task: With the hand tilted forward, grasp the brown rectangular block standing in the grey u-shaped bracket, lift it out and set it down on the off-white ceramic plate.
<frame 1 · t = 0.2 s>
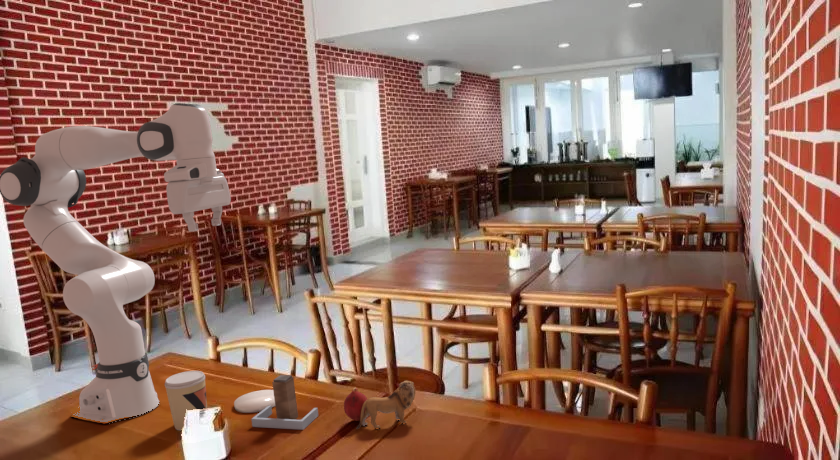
hand: (205, 228, 153), 47 cm above the table, tool pointing down, fingers open, 8 cm apart
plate: (258, 403, 165), on the table
coffee cup: (191, 424, 155), on the table
onion: (358, 421, 148), on the table
brown rectangular block: (285, 398, 152), in the grey u-shaped bracket
lion figurine: (389, 423, 145), on the table
grey u-shaped bracket: (287, 419, 152), on the table
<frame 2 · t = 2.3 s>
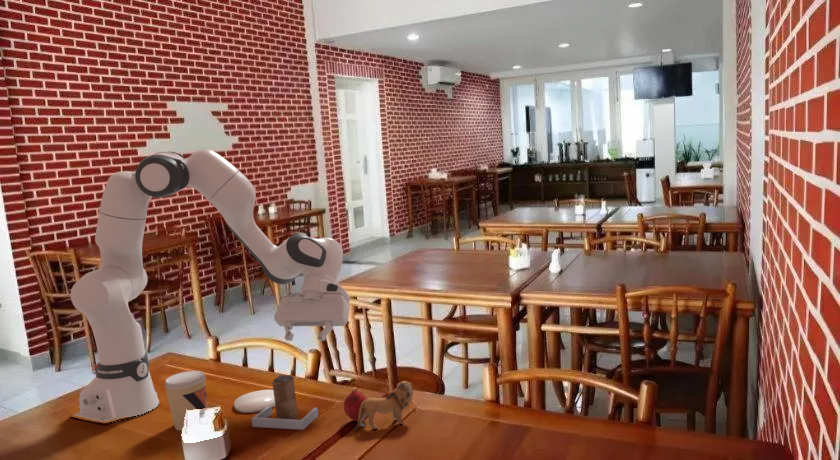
hand: (304, 339, 162), 16 cm above the table, tool tilted 45°, fingers open, 8 cm apart
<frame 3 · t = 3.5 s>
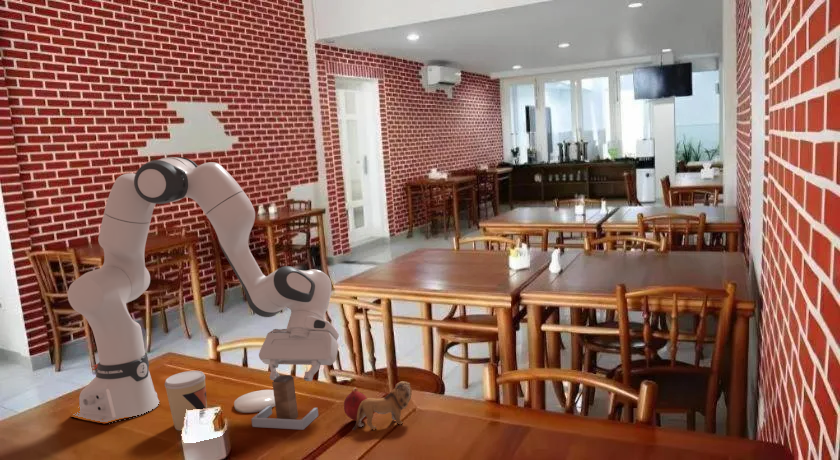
hand: (290, 379, 154), 9 cm above the table, tool tilted 45°, fingers open, 8 cm apart
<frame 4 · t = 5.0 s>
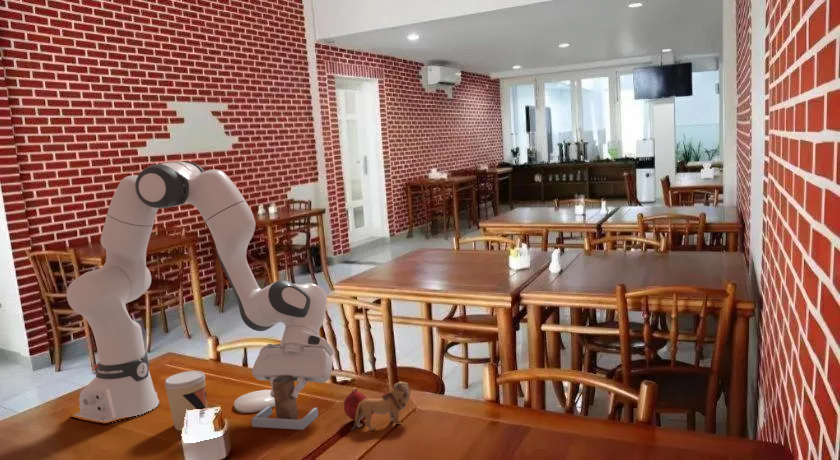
hand: (283, 397, 151), 6 cm above the table, tool tilted 45°, fingers closed on brown rectangular block, 4 cm apart
brown rectangular block: (285, 398, 152), in the grey u-shaped bracket, touching gripper
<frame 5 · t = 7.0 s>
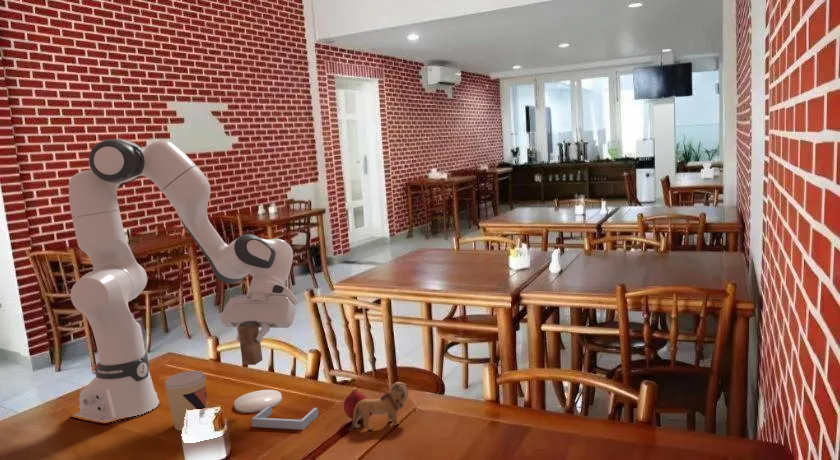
hand: (248, 341, 162), 17 cm above the table, tool tilted 45°, fingers closed on brown rectangular block, 4 cm apart
brown rectangular block: (250, 342, 162), point 16 cm above the table, touching gripper
when the fingers open (8 cm above the table, at t = 9.1 s): brown rectangular block stays where it is, resting on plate.
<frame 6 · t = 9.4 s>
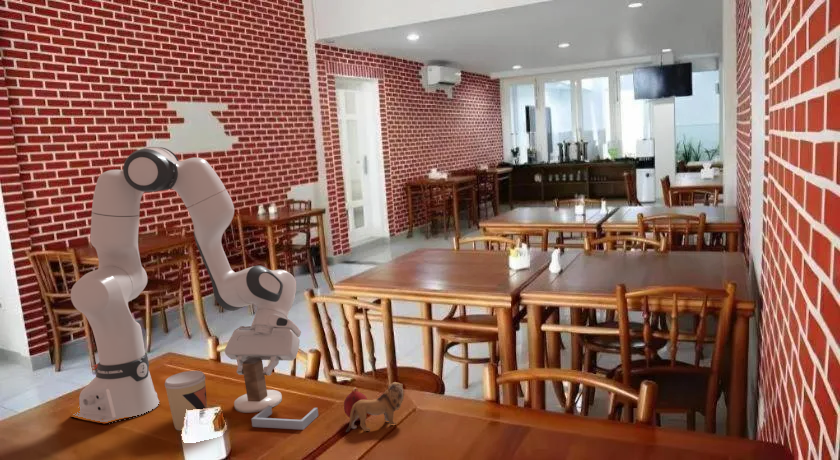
hand: (253, 374, 163), 8 cm above the table, tool tilted 45°, fingers open, 6 cm apart
brown rectangular block: (254, 379, 164), on the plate, point 6 cm above the table
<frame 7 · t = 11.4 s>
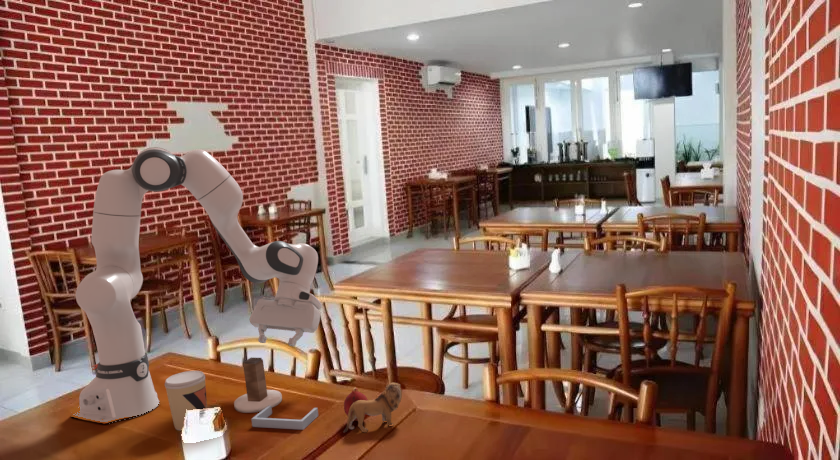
hand: (276, 343, 173), 12 cm above the table, tool tilted 40°, fingers open, 8 cm apart
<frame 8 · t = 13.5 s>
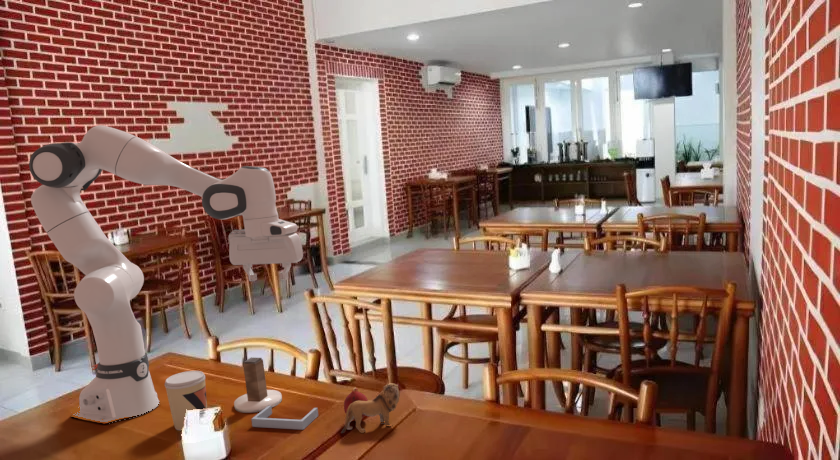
hand: (268, 280, 166), 31 cm above the table, tool pointing down, fingers open, 8 cm apart
at the end: brown rectangular block 0.1 cm from the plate (horizontally); brown rectangular block point 6.4 cm above the table; the gripper is holding nothing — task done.
